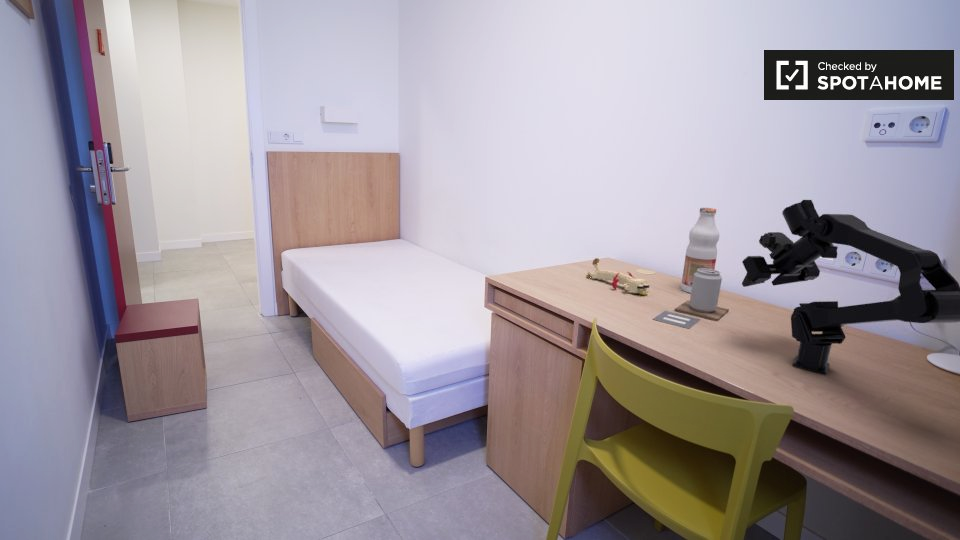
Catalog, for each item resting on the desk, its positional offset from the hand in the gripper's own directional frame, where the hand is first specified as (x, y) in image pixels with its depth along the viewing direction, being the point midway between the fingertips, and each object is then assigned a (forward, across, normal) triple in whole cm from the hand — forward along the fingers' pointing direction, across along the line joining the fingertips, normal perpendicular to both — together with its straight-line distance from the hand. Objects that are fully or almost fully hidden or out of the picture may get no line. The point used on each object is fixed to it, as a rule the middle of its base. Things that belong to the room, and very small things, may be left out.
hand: (757, 284), depth 126 cm
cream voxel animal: (+42, +13, -22) cm, 49 cm away
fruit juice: (+36, -12, -16) cm, 41 cm away
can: (+22, 0, -3) cm, 22 cm away
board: (+22, 0, -3) cm, 23 cm away
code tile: (+19, +13, +1) cm, 23 cm away
